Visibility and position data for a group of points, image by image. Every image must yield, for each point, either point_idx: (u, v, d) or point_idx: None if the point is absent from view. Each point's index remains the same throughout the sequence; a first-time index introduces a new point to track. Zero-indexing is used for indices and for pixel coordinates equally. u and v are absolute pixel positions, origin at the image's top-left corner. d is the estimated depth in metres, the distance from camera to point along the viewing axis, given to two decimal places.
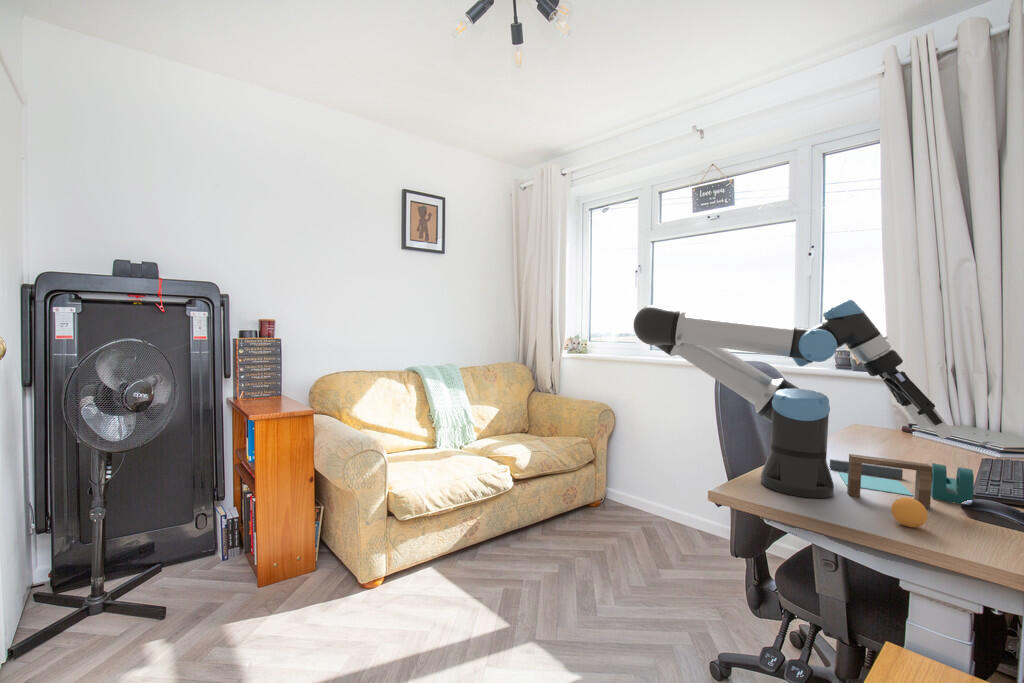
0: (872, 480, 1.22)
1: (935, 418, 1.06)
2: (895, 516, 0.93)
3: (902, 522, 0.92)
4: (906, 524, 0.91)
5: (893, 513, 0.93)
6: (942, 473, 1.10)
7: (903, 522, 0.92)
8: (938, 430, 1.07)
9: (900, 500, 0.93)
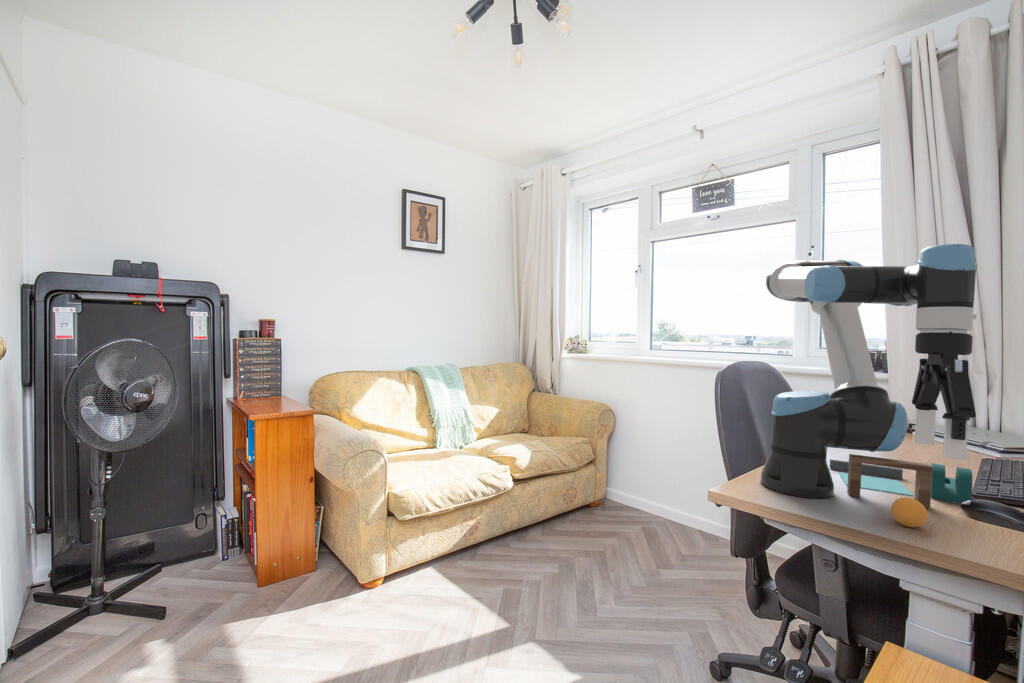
0: (872, 480, 1.22)
1: (960, 431, 0.77)
2: (895, 516, 0.93)
3: (902, 522, 0.92)
4: (906, 524, 0.91)
5: (893, 513, 0.93)
6: (941, 473, 1.10)
7: (903, 522, 0.92)
8: (949, 446, 0.78)
9: (900, 500, 0.93)
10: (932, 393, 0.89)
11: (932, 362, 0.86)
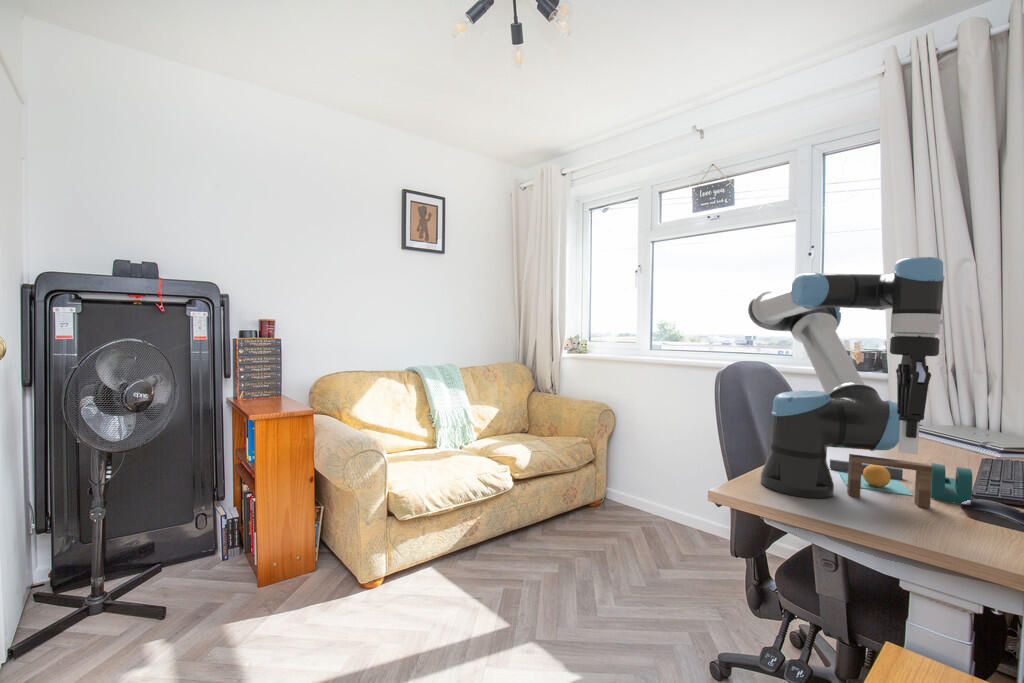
0: None
1: (912, 430, 0.93)
2: None
3: None
4: None
5: (863, 472, 1.20)
6: (941, 473, 1.10)
7: None
8: (904, 443, 0.95)
9: None
10: None
11: (904, 355, 0.97)
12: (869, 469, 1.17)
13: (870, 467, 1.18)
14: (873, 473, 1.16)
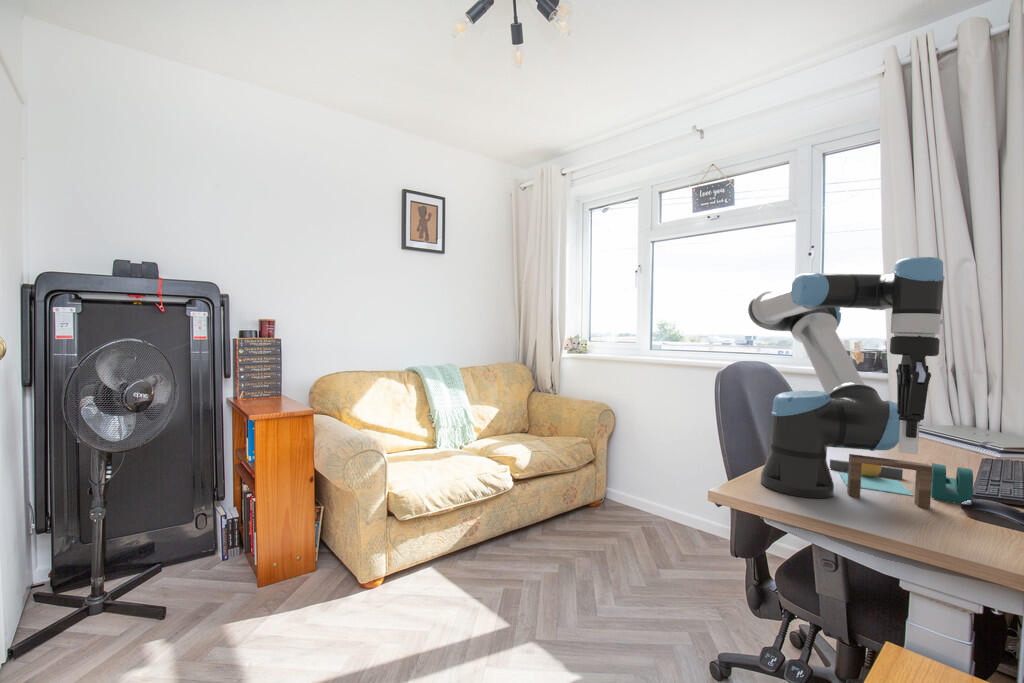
0: (872, 480, 1.22)
1: (912, 430, 0.93)
2: None
3: (864, 466, 1.25)
4: (867, 467, 1.24)
5: None
6: (942, 473, 1.10)
7: (864, 465, 1.25)
8: (904, 443, 0.95)
9: None
10: None
11: (904, 355, 0.97)
12: None
13: None
14: None
